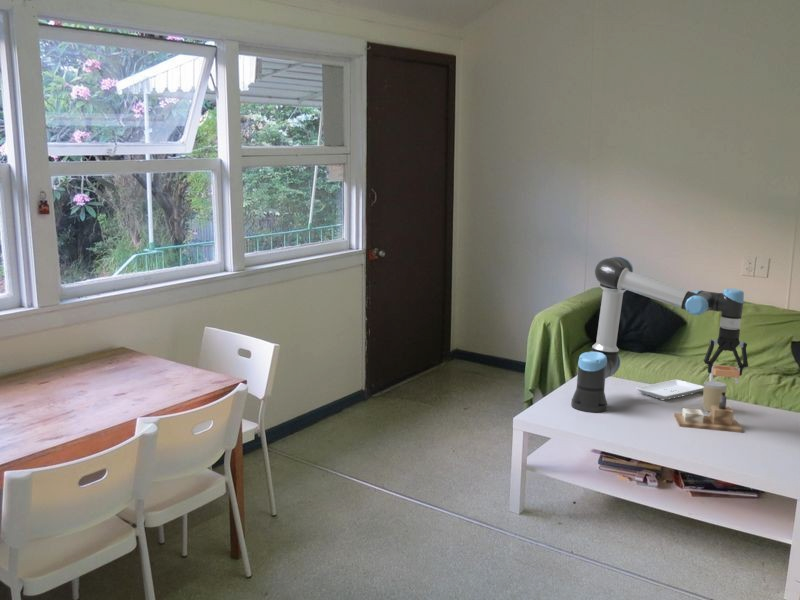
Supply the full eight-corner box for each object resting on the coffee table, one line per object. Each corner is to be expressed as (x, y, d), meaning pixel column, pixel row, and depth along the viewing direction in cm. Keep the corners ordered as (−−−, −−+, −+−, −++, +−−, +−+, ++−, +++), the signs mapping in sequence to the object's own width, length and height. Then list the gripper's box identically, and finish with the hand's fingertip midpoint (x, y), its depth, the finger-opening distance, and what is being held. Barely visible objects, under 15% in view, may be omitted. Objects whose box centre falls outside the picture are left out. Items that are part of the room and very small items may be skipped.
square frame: (715, 375, 293) (715, 370, 293) (710, 370, 302) (711, 364, 301) (739, 378, 291) (739, 372, 291) (733, 372, 300) (734, 366, 300)
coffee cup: (726, 414, 315) (729, 387, 313) (703, 412, 317) (706, 385, 315) (721, 407, 324) (724, 381, 322) (698, 405, 326) (701, 379, 324)
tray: (634, 394, 342) (634, 386, 341) (675, 385, 359) (676, 378, 359) (665, 403, 328) (666, 396, 327) (706, 394, 346) (707, 387, 345)
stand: (679, 426, 297) (682, 397, 295) (674, 415, 310) (676, 387, 308) (742, 432, 292) (746, 403, 290) (734, 421, 305) (737, 393, 303)
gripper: (703, 327, 292) (696, 381, 296) (761, 331, 288) (754, 387, 291) (699, 323, 299) (693, 377, 303) (756, 328, 295) (749, 382, 299)
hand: (723, 381), depth 297 cm, fingers closed on square frame, 9 cm apart
